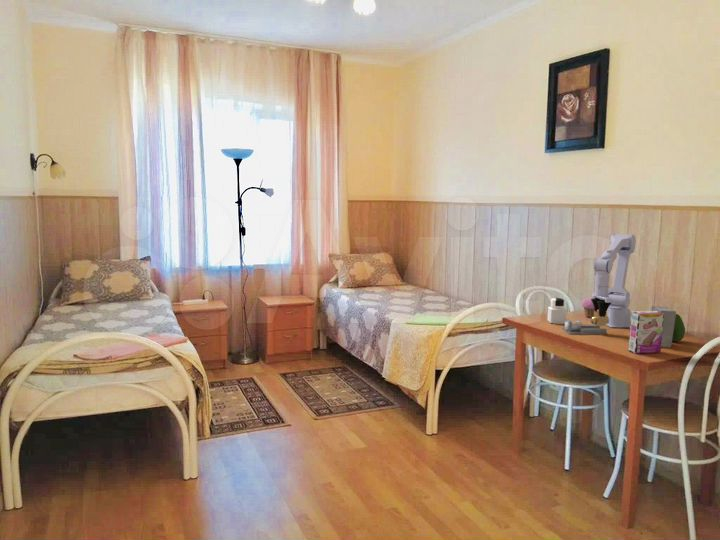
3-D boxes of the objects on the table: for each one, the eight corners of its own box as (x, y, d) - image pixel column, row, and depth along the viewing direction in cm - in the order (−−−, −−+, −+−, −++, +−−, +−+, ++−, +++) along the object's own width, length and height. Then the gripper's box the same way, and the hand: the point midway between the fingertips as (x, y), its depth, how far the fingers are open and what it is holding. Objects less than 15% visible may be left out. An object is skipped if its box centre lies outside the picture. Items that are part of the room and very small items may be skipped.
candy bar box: (635, 354, 214) (638, 313, 212) (627, 350, 219) (630, 310, 217) (661, 353, 216) (664, 312, 214) (653, 349, 221) (656, 310, 218)
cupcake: (600, 319, 276) (602, 299, 275) (582, 318, 278) (583, 299, 277) (597, 315, 285) (598, 296, 284) (579, 314, 287) (580, 296, 286)
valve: (605, 323, 248) (605, 308, 248) (609, 325, 244) (609, 310, 244) (590, 323, 248) (590, 309, 248) (593, 325, 244) (594, 310, 244)
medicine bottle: (561, 320, 272) (563, 297, 271) (565, 324, 265) (567, 300, 264) (547, 320, 273) (548, 297, 271) (550, 323, 266) (551, 299, 264)
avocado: (672, 338, 239) (674, 311, 237) (688, 342, 232) (690, 315, 230) (658, 339, 236) (660, 312, 235) (674, 344, 229) (676, 316, 227)
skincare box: (646, 342, 232) (649, 305, 230) (663, 342, 232) (666, 305, 230) (656, 347, 224) (659, 309, 222) (674, 347, 224) (677, 309, 222)
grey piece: (597, 329, 255) (598, 318, 254) (607, 334, 245) (607, 323, 244) (561, 329, 255) (562, 318, 254) (569, 334, 245) (570, 323, 245)
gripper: (586, 283, 251) (584, 312, 253) (600, 288, 237) (598, 318, 239) (601, 283, 251) (599, 312, 253) (616, 288, 237) (614, 319, 239)
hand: (600, 315), depth 246 cm, fingers closed on valve, 4 cm apart
